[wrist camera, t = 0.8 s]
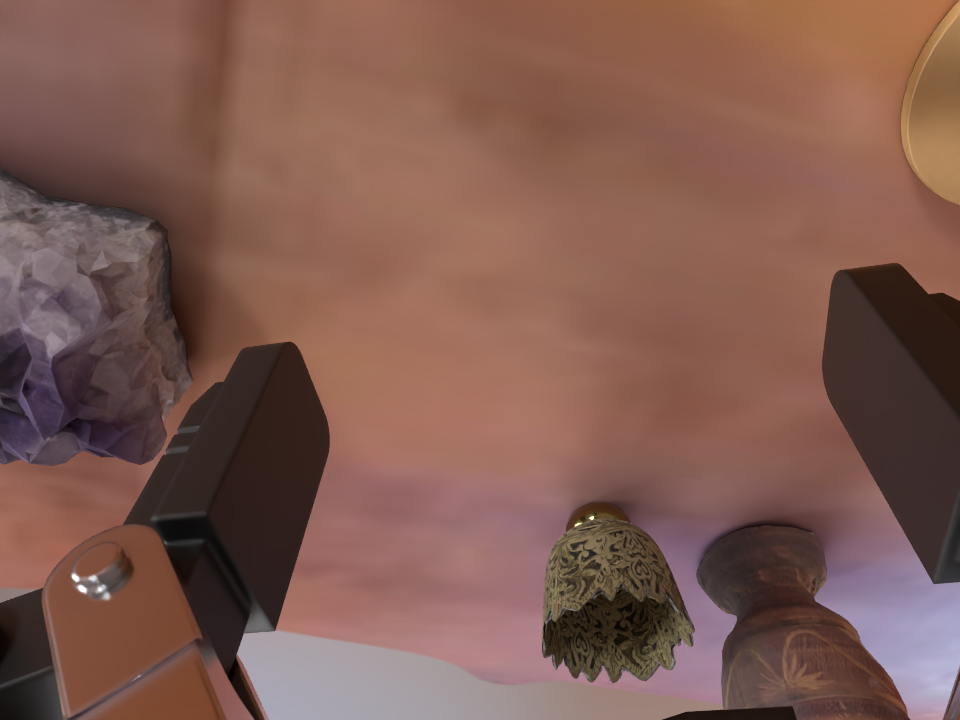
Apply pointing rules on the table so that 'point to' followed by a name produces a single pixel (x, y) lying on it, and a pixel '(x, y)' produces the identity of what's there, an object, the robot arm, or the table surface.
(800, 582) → the mortar and pestle
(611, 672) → the ornate metal bell
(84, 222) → the geode
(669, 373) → the table surface
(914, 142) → the coaster
